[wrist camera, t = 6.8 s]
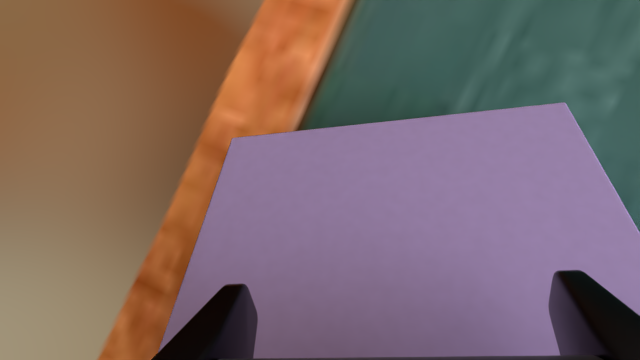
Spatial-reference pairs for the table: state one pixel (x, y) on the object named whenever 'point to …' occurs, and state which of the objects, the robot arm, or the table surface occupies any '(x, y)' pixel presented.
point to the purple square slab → (412, 237)
